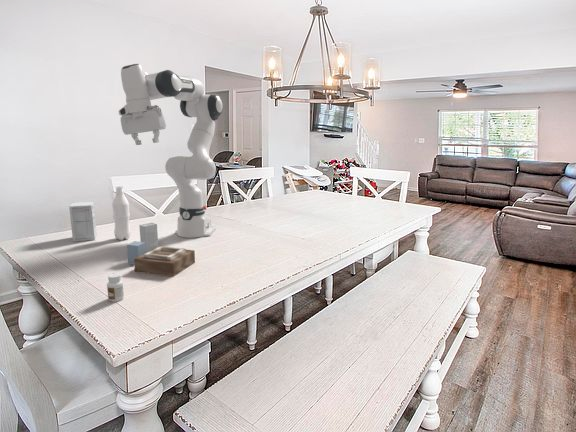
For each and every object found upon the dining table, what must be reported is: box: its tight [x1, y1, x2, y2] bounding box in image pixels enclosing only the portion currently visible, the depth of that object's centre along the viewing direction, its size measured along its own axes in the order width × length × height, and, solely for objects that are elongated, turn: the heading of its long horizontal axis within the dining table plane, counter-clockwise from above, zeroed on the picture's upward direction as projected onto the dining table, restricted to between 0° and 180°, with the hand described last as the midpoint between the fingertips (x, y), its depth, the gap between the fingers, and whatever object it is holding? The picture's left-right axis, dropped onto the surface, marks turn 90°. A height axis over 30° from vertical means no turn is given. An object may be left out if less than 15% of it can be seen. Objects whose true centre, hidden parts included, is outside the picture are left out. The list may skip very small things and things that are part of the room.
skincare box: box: [138, 222, 159, 253], centre depth 163 cm, size 6×4×12 cm
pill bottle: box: [106, 273, 125, 303], centre depth 117 cm, size 4×4×8 cm
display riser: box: [133, 245, 196, 277], centre depth 146 cm, size 16×16×6 cm
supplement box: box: [68, 201, 98, 243], centre depth 180 cm, size 10×9×17 cm
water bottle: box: [111, 186, 132, 241], centre depth 180 cm, size 7×7×25 cm
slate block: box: [126, 240, 146, 265], centre depth 151 cm, size 5×5×8 cm
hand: (147, 143), depth 152 cm, fingers open, 8 cm apart
